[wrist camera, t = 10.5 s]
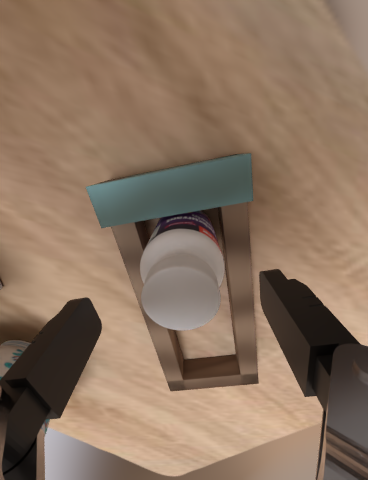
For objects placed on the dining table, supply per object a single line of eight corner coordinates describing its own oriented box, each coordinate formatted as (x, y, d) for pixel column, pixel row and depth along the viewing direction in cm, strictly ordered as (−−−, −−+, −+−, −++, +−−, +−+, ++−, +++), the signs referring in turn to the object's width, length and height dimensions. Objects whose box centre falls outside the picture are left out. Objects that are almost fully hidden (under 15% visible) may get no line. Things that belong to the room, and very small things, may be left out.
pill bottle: (222, 215, 18) (256, 275, 9) (200, 263, 20) (210, 351, 11) (166, 195, 17) (141, 237, 8) (150, 246, 19) (115, 325, 10)
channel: (108, 180, 17) (85, 187, 13) (236, 154, 16) (250, 153, 12) (172, 371, 27) (169, 405, 23) (252, 363, 26) (262, 397, 22)
